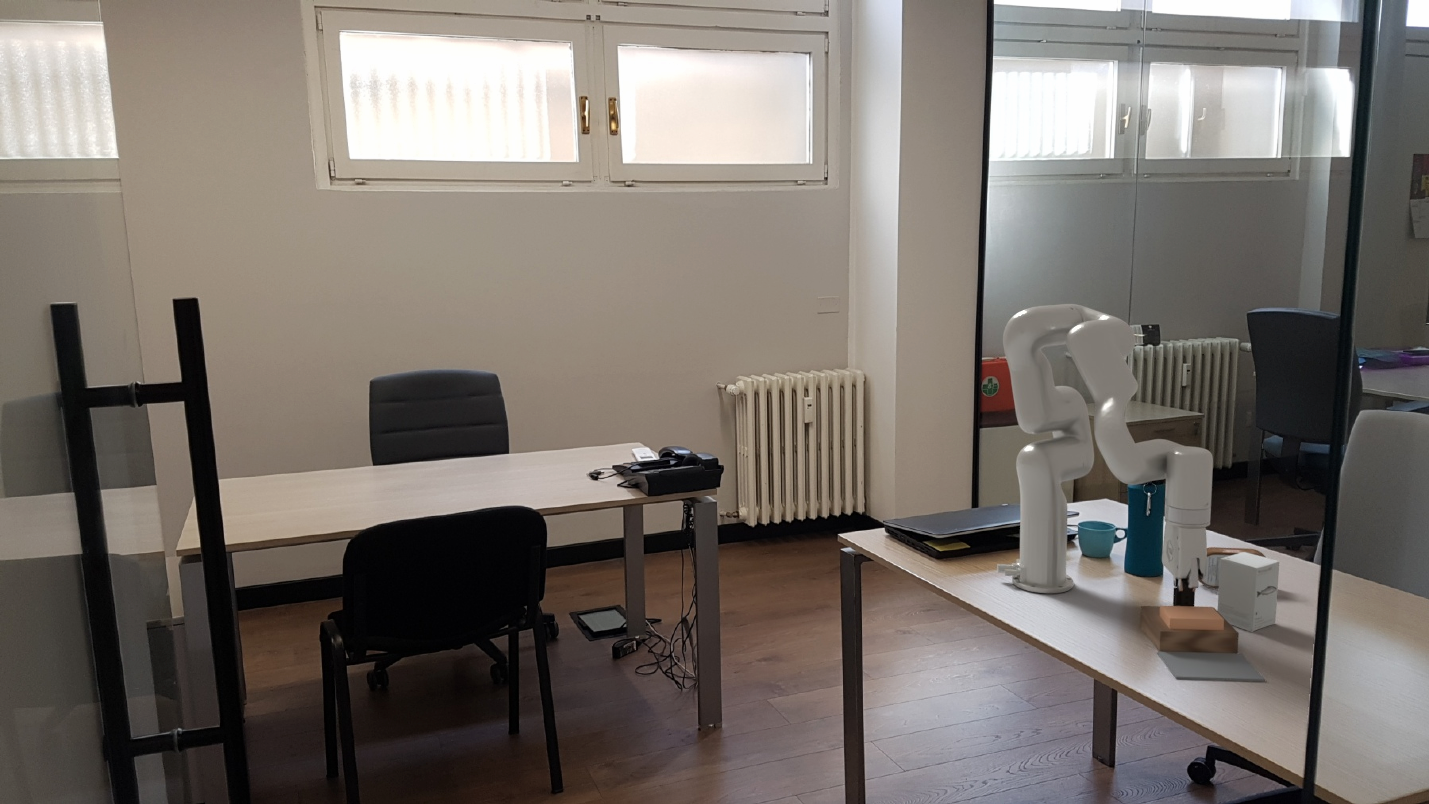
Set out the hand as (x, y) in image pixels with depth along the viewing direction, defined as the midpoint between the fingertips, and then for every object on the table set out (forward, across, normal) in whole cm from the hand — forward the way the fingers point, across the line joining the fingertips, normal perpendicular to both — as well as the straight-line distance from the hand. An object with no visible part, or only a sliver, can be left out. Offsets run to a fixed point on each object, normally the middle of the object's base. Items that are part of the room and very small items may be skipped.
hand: (1183, 609), depth 175 cm
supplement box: (+5, -6, +13) cm, 16 cm away
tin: (+5, -25, +18) cm, 31 cm away
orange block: (+1, +5, 0) cm, 5 cm away
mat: (+5, +14, 0) cm, 15 cm away
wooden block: (+5, +3, 0) cm, 6 cm away
